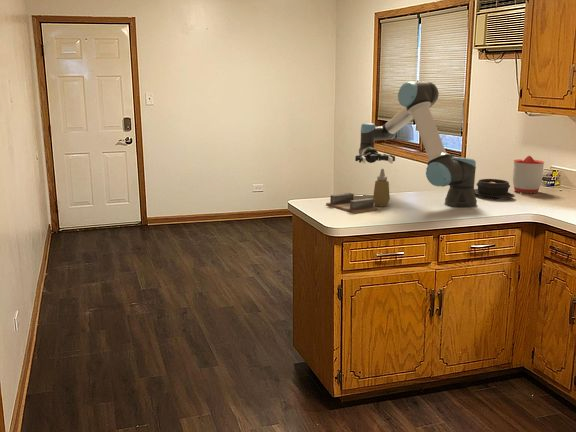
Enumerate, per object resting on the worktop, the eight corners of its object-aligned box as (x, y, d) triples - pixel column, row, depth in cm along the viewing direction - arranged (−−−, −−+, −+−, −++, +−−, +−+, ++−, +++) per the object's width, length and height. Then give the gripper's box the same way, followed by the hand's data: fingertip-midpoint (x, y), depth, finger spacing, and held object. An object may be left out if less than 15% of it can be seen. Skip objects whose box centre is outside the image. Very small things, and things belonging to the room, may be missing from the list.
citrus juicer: (538, 189, 352) (541, 153, 348) (543, 195, 336) (547, 157, 331) (509, 188, 355) (512, 152, 351) (512, 193, 339) (515, 156, 335)
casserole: (523, 199, 323) (525, 183, 321) (495, 202, 316) (497, 186, 314) (488, 191, 345) (490, 176, 343) (462, 193, 338) (463, 178, 336)
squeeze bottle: (371, 204, 309) (372, 167, 305) (387, 203, 310) (388, 167, 306) (374, 207, 301) (376, 170, 297) (391, 207, 302) (392, 170, 298)
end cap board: (378, 210, 295) (378, 199, 294) (355, 213, 288) (355, 202, 287) (348, 201, 313) (348, 192, 312) (326, 204, 306) (326, 194, 305)
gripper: (393, 162, 333) (402, 168, 312) (346, 161, 331) (353, 168, 310) (394, 147, 331) (403, 153, 310) (347, 147, 329) (353, 153, 309)
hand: (378, 160), depth 310 cm, fingers open, 13 cm apart
